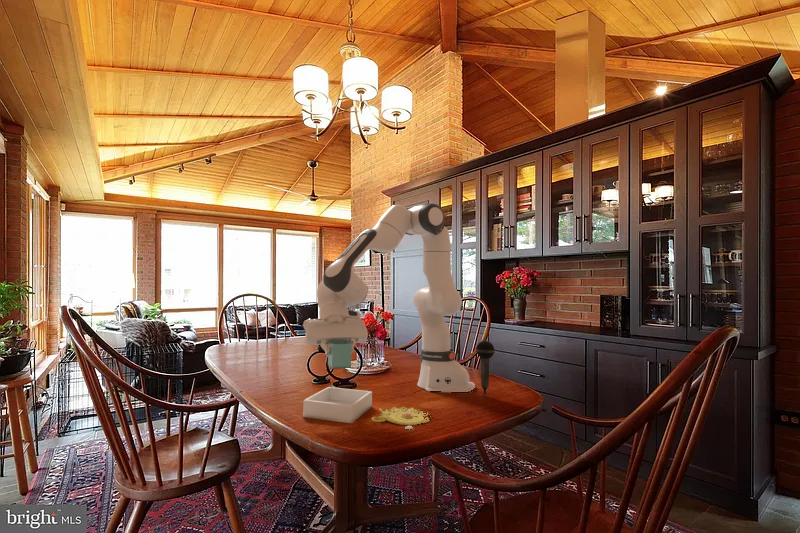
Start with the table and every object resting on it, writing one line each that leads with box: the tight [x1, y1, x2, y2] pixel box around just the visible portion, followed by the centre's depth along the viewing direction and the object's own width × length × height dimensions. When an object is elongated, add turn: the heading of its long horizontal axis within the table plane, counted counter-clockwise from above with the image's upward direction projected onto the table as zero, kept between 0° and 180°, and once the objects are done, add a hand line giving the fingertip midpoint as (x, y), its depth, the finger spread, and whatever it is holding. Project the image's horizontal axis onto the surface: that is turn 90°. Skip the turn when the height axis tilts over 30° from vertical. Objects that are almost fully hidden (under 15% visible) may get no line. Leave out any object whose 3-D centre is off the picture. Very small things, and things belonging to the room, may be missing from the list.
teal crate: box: [327, 341, 352, 370], centre depth 128 cm, size 6×6×8 cm
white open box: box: [302, 386, 373, 424], centre depth 127 cm, size 16×16×5 cm
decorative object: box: [371, 406, 431, 431], centre depth 123 cm, size 21×2×20 cm
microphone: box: [475, 340, 496, 395], centre depth 146 cm, size 7×7×20 cm
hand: (340, 352), depth 127 cm, fingers closed on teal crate, 6 cm apart
